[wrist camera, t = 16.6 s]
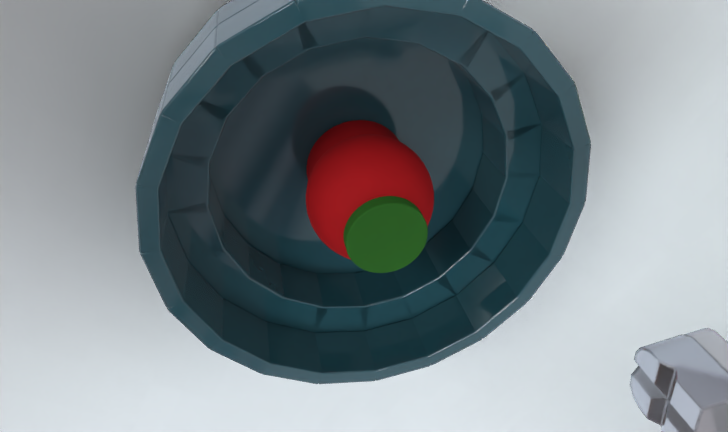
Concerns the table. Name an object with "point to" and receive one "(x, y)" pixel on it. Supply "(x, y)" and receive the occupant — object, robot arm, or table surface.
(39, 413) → the table surface
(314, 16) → the bowl
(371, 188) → the strawberry
